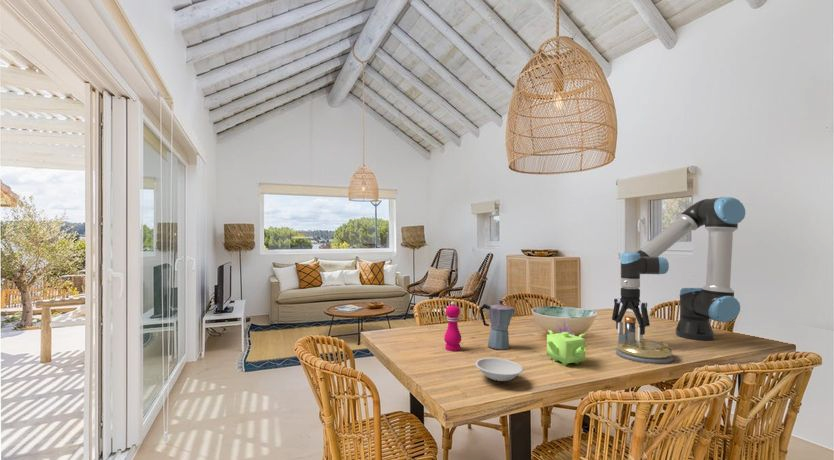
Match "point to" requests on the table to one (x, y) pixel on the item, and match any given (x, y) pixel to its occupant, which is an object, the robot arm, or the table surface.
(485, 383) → the table surface
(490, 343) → the moka pot
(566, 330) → the lily
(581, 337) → the green animal planter
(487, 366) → the dish
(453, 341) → the pepper mill
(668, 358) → the base plate
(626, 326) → the pin
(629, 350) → the gold and gray disc
